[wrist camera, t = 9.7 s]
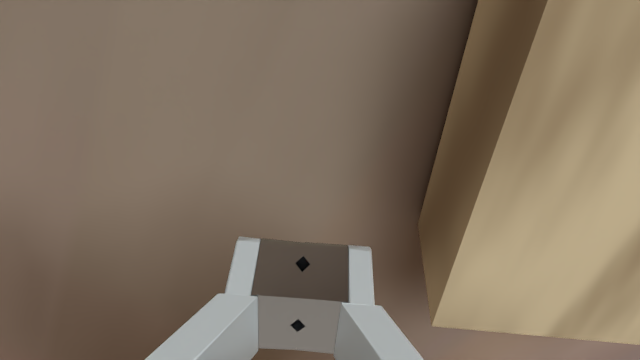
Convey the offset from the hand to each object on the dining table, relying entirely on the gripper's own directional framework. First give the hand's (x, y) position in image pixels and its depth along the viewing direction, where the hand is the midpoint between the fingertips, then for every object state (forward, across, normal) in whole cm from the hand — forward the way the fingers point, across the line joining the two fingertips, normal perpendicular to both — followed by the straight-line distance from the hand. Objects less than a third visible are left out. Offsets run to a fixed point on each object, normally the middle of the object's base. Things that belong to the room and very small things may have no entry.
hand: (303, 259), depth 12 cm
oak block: (+5, -5, 0) cm, 7 cm away
